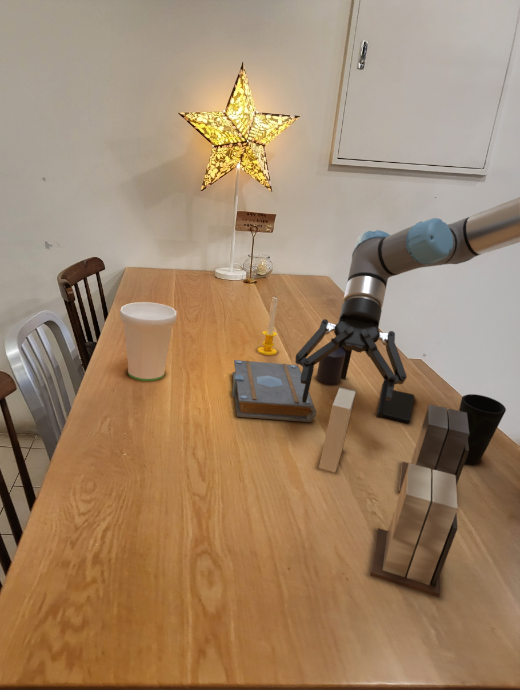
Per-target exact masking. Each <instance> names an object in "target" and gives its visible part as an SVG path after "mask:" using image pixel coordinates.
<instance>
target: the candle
mask: <svg viewBox="0 0 520 690" xmlns="http://www.w3.org/2000/svg"><path fill="white" fill-rule="evenodd" d="M278 301H279V299H278V297H277V296H276V295H275V296H273V297H271V303H270V309H269V315H268V321H267V328H266V330H263V331H262V335H264V336H265V337H264V341H262V343H261V344H262V346H260V347H258V348H257V352H258V353H259V354H262V355H265V356H275V355H277V353H278V351H277V349H275V348H274V347H275V343H274V337H276V336H277V335H278V333H277V332H276V331H274V330H275V325H276V324H275V323H276V317H277V309H278Z"/></svg>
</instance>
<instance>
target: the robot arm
mask: <svg viewBox="0 0 520 690" xmlns="http://www.w3.org/2000/svg"><path fill="white" fill-rule="evenodd" d="M518 243H520V196H518V197H517V198H515V199H511V200H509V201H506V202H503V203H501V204H498V205H496V206H493V207H491V208H488V209H486V210H483V211H480V212H478V213H475V214H473V215H470V216H467V217H465V218H462V219H460V220H457V221H455V222H452V223H448V224H447V223H446V221H445V222H444V221H443V220H442V219H441V218H438V217H433V218H430V219H427V220H424V221H418V222H416V223H415V224H413V225H411V226H409V227H406V228H404V229H402V230H400V231H397V232H395V233H393V234H389V233H388V232H387V231H383V230H381V229H380V230H378V229H376V230H374V231H372V230H367V231H364V232H363V233H361V234H360V235H359V236H358V237H357V240H356V242H355V246H354V249H353V251H352V253H351V254H352V255H351V262H350V266H349V267H350V268H349V272H348V277H347V280H346V281H347V282H346V284H345V290H344V295H343V299H342V305H341V309H340V313H339V317H338V321H337V323H336V324H335V323H331V322H329V321H328V319H326V318H324V319H322V320H321V323H320V325H319V328H318V329H317V330H316V332H314V334H313V335H312V336H311V337H310V339H308V341H306V342H305V344H304V345H303V346H302V347H301V348H300V350H299V351H298V352H297V353H296V354H295V362H294V363H295V365H299V366H301V367H302V370H301V373H302V374H301V380H300V381H301V383H303V384H305V389H304V393H303V398H302V402H305V403H306V401H307V397H308V392H309V393H310V387H311V383H312V378H313V374H314V369H315V365H316V364H319V361H321V360H322V359H324V358H325V357H326V356H328V355H329V354H331V353H332V352H333V351H336V350H338V349H339V348H340V347H343V348H345V350H352V351H353V352H356V353H362V352H365V354H366V356H367V357H368V358H370V360H371V361H372V363H373V364H374V366H375V367H376V369H377V371H378V372H379V373H380V375H381V377H382V379H383V382H382V384H381V389H380V393H379V394H380V395H379V400H378V405H377V412H376V418H377V419H381V418H382V417H381V416H382V415H383V411H384V405H385V400H387V401H390V400H391V398H392V396H393V390H395V385H403V384H404V383H405V381H406V379H407V376H408V375H407V373H406V370H405V368H404V364H403V362H402V359H401V355H400V353H399V351H398V348H397V344H396V343H395V341H396V332H394V331H393V330H389V332H380V330H379V327H380V322H381V316H382V312H383V311H382V309H383V305H384V301H385V295H386V290H387V286H388V281H389V278H391V277H394V276H399V275H400V274H404V273H407V272H410V271H413V270H416V269H420V268H421V269H422V268H428V267H436V266H442V265H459V264H463V263H466V262H468V261H471V260H472V259H474V258H476V257H478V256H481V255H484V254H487V253H490V252H494V251H496V250H500V249H503V248H505V247H509V246H511V245H515V244H518ZM331 332H333V333H334V335H335V337H333V340H332V341H331V340H330V341H329V342H328V343H326V344H325V345H323V346H322V347H320V348H318V349H317V350H316V351H315V352H313V353H312V351H313V350H314V349H315V348H316V347H317V346H318V345H319V343H321V341H322V340H323V339H324V337H325V336H326V335H330V333H331ZM378 341H381V343H382V345H383V346H385V350H386V354H387V357H388V360H389V362H390V365H391V367H390V366H389V364H388V363H387V361H386V359H385V358H384V356H383V355H382V354H381V352H380V350H379V349H378V346H377V344H376V343H377V342H378ZM311 353H312V354H311Z"/></svg>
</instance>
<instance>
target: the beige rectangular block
mask: <svg viewBox="0 0 520 690" xmlns="http://www.w3.org/2000/svg"><path fill="white" fill-rule="evenodd" d="M356 394H357V390H356V389H355V390H354V389H349V388H346V387H341V386H339V387H338V391H337V393H336V395H335V397H334V400H333V403H332V406H331V410H330V415H329V420H328V422H327V423H328V424H327V429H326V433H325V438H324V442H323V447H322V451H321V457H320V461H319V465H318V469H319V470H323V471H327V472H331V473H333V474H335V473H336V472H337V469H338V465H339V462H340V459H341V455H342V453H343V450H344V446H345V441H346V437H347V434H348V429H349V424H350V420H351V416H352V412H353V407H354V403H355V399H356Z"/></svg>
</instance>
